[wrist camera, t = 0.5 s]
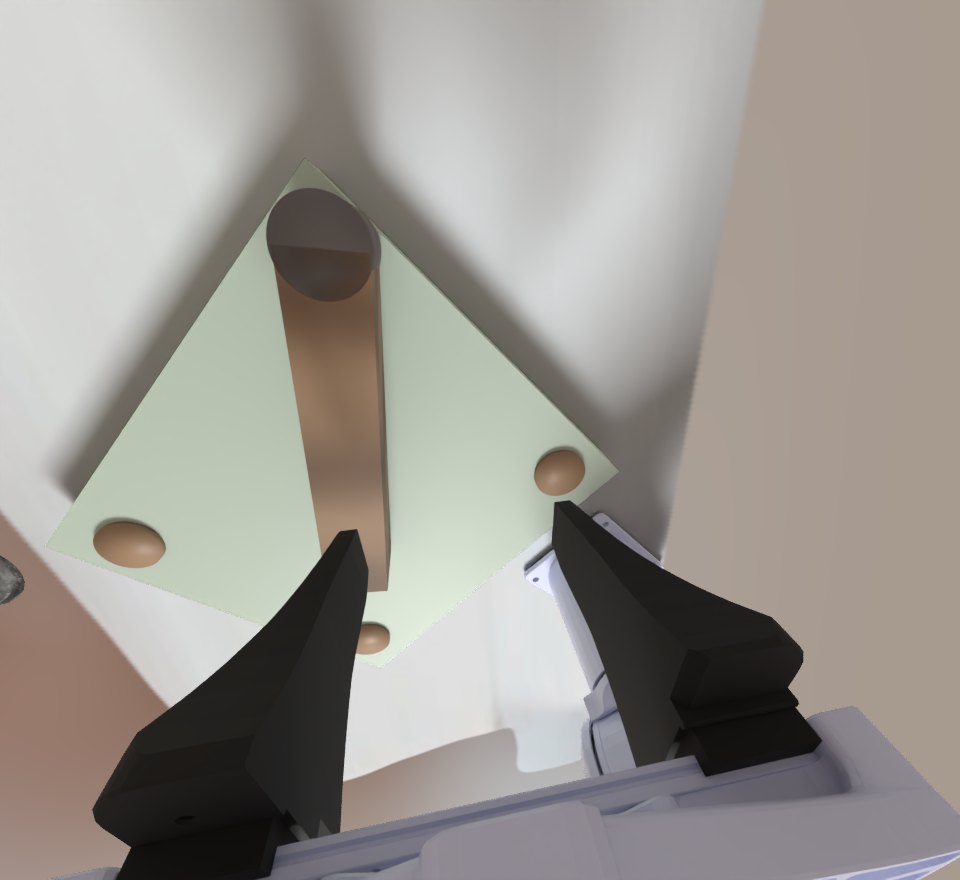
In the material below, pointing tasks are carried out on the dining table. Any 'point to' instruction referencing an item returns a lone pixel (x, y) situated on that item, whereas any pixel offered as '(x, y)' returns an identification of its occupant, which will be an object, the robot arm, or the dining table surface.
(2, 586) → the salt shaker
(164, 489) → the stool seat
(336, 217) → the folding leg
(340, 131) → the dining table surface
